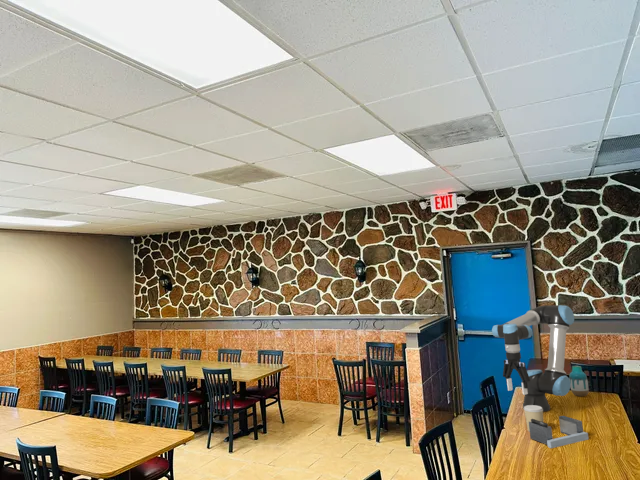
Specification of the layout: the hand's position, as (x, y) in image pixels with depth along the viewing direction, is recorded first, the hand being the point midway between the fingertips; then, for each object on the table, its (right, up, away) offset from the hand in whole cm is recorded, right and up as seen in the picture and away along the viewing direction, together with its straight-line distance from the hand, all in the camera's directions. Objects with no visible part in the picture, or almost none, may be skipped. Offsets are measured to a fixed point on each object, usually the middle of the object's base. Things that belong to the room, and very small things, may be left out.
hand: (517, 392), depth 241 cm
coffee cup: (+4, -17, -12) cm, 21 cm away
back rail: (+10, -14, -31) cm, 36 cm away
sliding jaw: (-1, -15, -28) cm, 32 cm away
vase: (+64, -20, +48) cm, 83 cm away
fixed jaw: (+18, -14, -21) cm, 31 cm away
